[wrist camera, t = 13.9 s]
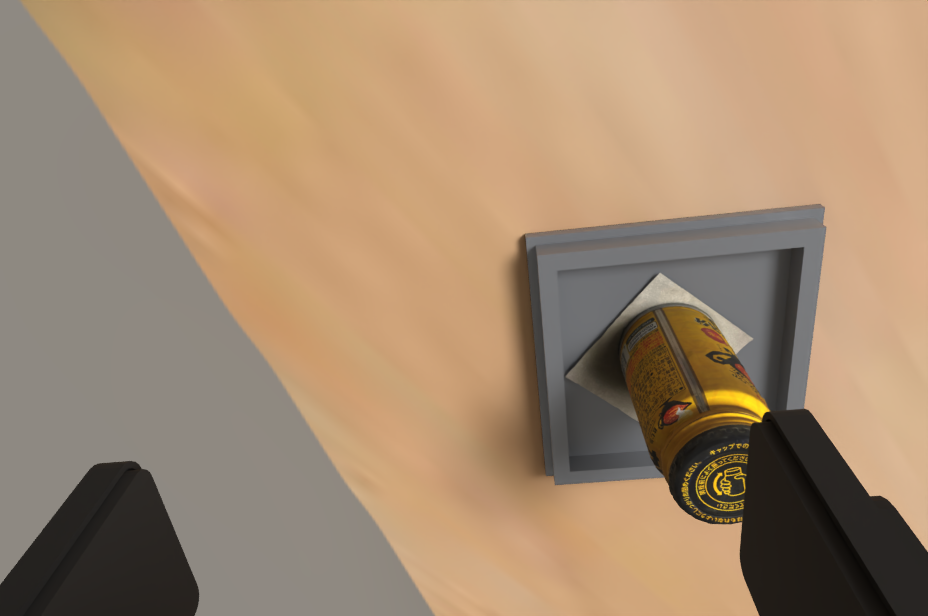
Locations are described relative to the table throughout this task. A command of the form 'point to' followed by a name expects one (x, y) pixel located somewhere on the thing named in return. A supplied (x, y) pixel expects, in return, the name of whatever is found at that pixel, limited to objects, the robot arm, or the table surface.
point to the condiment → (681, 394)
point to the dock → (695, 270)
